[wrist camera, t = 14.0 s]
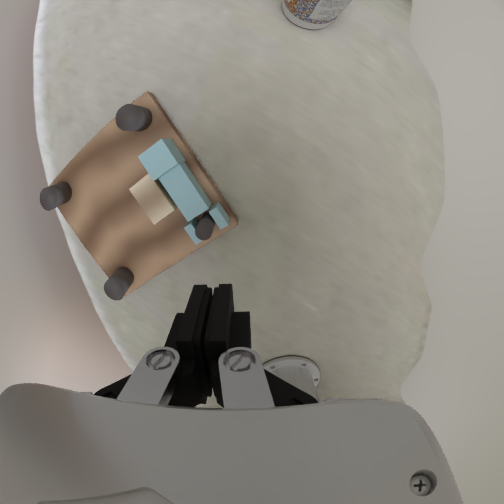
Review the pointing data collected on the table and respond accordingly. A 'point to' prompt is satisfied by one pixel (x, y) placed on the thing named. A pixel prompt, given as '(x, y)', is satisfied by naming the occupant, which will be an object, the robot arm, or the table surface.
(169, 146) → the leg
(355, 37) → the table surface
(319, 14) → the bath foam
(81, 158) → the stool seat
